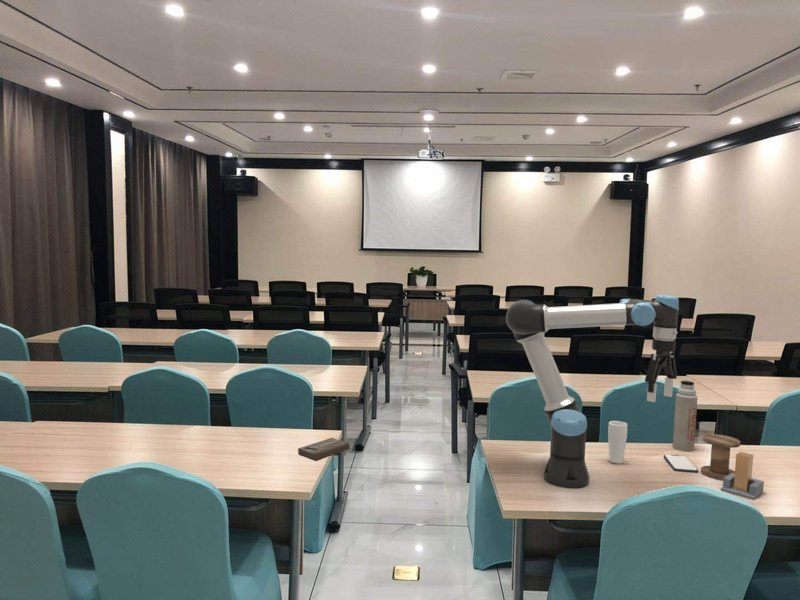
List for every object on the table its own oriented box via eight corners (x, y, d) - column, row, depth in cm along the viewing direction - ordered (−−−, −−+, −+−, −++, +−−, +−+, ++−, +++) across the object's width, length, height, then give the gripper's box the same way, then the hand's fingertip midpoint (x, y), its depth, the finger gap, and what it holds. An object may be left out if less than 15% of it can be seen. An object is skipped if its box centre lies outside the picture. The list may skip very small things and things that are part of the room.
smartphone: (699, 475, 220) (686, 459, 235) (699, 470, 220) (686, 455, 235) (673, 473, 221) (662, 457, 237) (674, 468, 221) (662, 453, 237)
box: (350, 450, 233) (350, 442, 233) (315, 462, 221) (315, 453, 220) (331, 444, 240) (331, 437, 240) (297, 455, 228) (297, 447, 227)
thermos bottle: (698, 450, 246) (702, 383, 244) (682, 452, 243) (686, 384, 241) (684, 444, 253) (688, 379, 251) (668, 446, 251) (672, 379, 249)
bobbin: (731, 483, 210) (733, 446, 209) (695, 473, 219) (697, 438, 218) (742, 475, 219) (745, 439, 218) (707, 466, 227) (710, 432, 226)
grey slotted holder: (753, 499, 196) (754, 488, 196) (720, 490, 203) (721, 479, 203) (763, 492, 203) (763, 481, 203) (731, 483, 210) (731, 472, 210)
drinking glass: (626, 465, 226) (629, 426, 225) (607, 463, 227) (610, 424, 226) (623, 459, 232) (626, 421, 231) (605, 458, 234) (607, 420, 233)
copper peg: (746, 492, 200) (749, 457, 199) (733, 488, 203) (736, 454, 202) (750, 489, 203) (753, 454, 202) (737, 485, 206) (740, 451, 205)
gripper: (659, 343, 200) (654, 406, 202) (689, 338, 217) (684, 396, 219) (637, 340, 205) (632, 401, 207) (668, 335, 222) (664, 392, 224)
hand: (659, 398), depth 213 cm, fingers open, 13 cm apart
